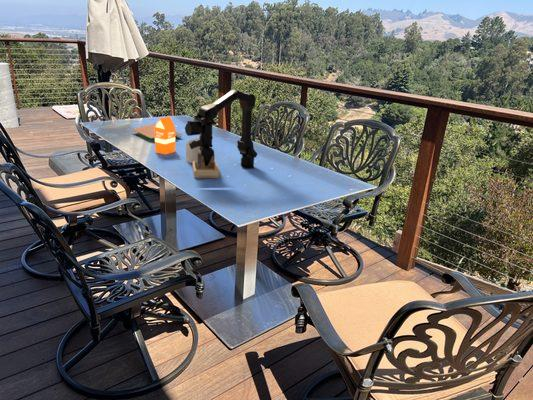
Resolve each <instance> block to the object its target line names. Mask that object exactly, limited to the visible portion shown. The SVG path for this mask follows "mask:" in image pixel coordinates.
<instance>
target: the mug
mask: <svg viewBox="0 0 533 400" xmlns="http://www.w3.org/2000/svg"><path fill="white" fill-rule="evenodd" d="M199 148H200V147H196V148H194V149H191V148H190V145H189V142H188V141H186V143H185V160H186V162H187V163H189V164H193V161H197V151H201V150H200V149H199Z"/></svg>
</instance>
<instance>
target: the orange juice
mask: <svg viewBox="0 0 533 400" xmlns="http://www.w3.org/2000/svg"><path fill="white" fill-rule="evenodd" d="M155 124H156V126H155V138H154V149H155V150H154V152H155V153H157V154H162V155H168V154H171V153H174V152H176V139H175V131H176V127H175V124H174V122H173V120H172V118H171V116H165V117H161V118H159V119H158V120H157V122H156V123H155Z"/></svg>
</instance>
